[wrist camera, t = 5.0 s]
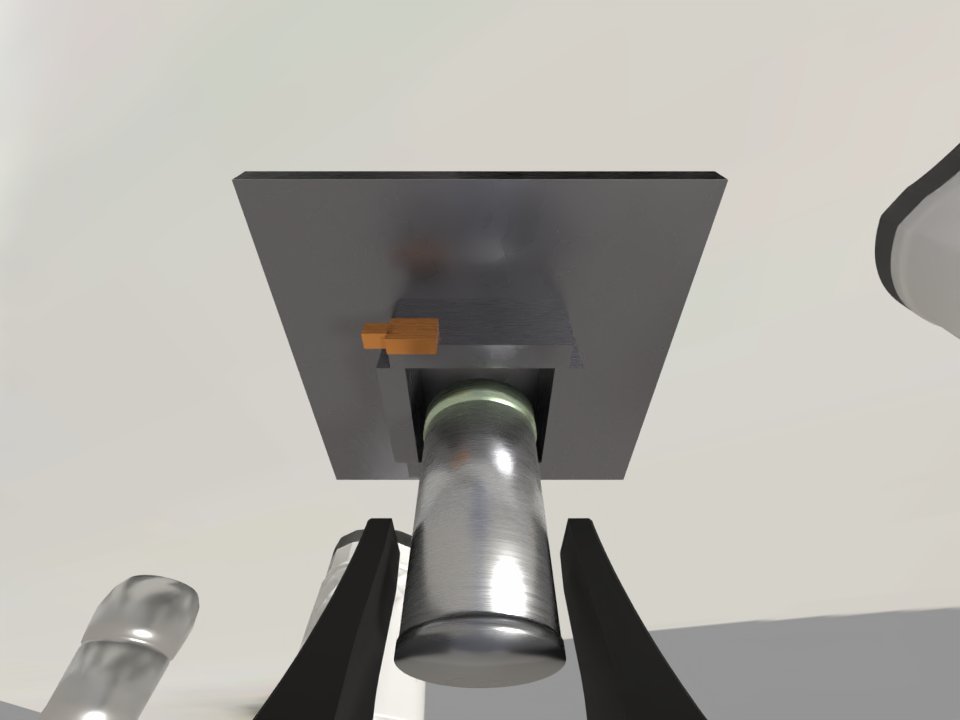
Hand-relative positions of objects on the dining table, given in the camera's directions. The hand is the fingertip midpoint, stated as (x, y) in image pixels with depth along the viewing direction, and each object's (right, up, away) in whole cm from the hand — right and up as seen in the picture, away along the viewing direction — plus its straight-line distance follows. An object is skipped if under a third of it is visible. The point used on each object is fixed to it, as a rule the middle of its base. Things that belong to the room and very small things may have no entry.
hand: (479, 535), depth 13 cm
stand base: (0, +5, +7) cm, 9 cm away
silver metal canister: (0, +3, +4) cm, 5 cm away
